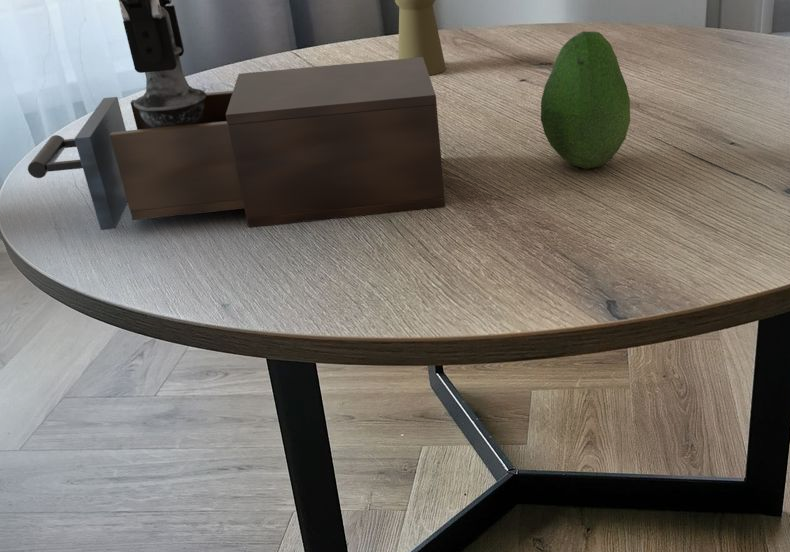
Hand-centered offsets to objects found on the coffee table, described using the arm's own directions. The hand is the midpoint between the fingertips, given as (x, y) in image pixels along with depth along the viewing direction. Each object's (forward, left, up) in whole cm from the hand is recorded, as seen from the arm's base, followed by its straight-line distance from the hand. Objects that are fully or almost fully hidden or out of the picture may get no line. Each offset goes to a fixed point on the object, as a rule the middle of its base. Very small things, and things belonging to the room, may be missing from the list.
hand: (160, 61), depth 78 cm
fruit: (+35, 0, -13) cm, 38 cm away
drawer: (-1, 0, -12) cm, 12 cm away
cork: (+23, +39, -13) cm, 47 cm away
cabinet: (+13, 0, -13) cm, 19 cm away
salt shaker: (0, 0, -7) cm, 7 cm away
